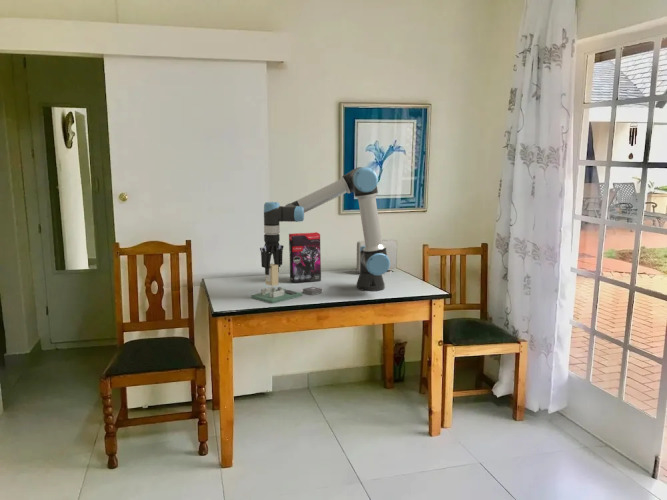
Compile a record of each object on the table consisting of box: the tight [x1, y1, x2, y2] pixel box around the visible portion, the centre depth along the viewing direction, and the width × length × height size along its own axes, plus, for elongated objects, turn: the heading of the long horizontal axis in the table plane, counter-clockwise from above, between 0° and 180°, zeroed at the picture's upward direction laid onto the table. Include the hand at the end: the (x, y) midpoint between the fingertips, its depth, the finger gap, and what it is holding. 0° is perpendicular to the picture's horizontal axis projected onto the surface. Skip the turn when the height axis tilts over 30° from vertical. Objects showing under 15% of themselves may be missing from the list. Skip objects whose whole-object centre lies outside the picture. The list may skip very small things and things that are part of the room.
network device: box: [356, 238, 398, 275], centre depth 323 cm, size 26×9×20 cm, turn 114°
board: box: [250, 286, 303, 304], centre depth 267 cm, size 16×20×4 cm
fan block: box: [302, 286, 323, 296], centre depth 275 cm, size 7×7×2 cm
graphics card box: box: [288, 231, 322, 284], centre depth 300 cm, size 17×7×27 cm, turn 111°
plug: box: [265, 263, 279, 287], centre depth 265 cm, size 6×4×10 cm
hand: (272, 280), depth 265 cm, fingers closed on plug, 4 cm apart
